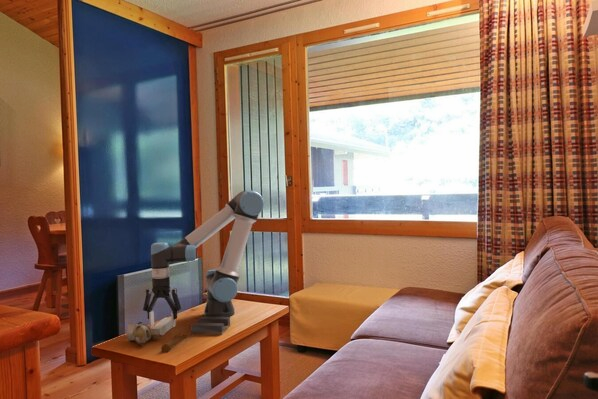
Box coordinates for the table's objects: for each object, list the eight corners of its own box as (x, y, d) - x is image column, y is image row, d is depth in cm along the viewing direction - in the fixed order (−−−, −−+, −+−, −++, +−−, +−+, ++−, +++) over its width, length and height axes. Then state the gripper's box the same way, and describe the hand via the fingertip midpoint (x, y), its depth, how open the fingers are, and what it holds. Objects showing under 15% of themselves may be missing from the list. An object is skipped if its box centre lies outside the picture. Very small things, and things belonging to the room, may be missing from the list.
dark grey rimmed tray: (201, 325, 191) (200, 316, 191) (230, 325, 189) (229, 317, 189) (191, 334, 179) (190, 325, 179) (221, 334, 177) (221, 325, 177)
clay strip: (165, 325, 194) (164, 317, 193) (174, 325, 193) (174, 317, 193) (150, 337, 178) (150, 328, 178) (160, 337, 177) (160, 328, 177)
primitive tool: (176, 336, 179) (175, 328, 179) (188, 336, 179) (188, 328, 178) (160, 353, 159) (160, 345, 159) (174, 353, 159) (174, 344, 159)
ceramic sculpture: (139, 315, 180) (163, 321, 173) (139, 334, 181) (163, 341, 174) (118, 322, 171) (143, 329, 164) (118, 343, 171) (143, 350, 164)
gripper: (133, 278, 183) (135, 328, 183) (180, 278, 180) (182, 329, 180) (141, 275, 190) (143, 323, 191) (187, 275, 187) (189, 323, 187)
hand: (162, 326), depth 185 cm, fingers open, 10 cm apart
